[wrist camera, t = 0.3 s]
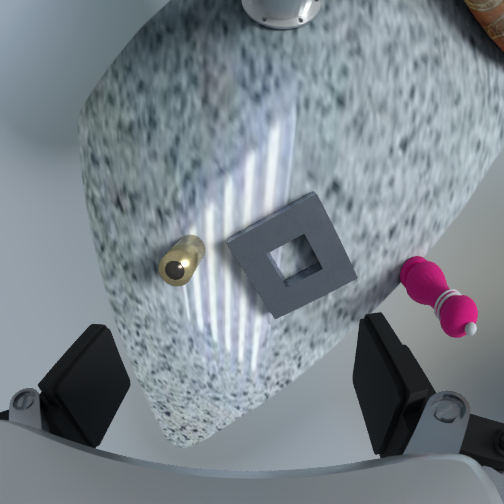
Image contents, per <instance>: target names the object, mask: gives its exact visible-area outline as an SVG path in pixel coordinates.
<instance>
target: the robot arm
mask: <svg viewBox="0 0 504 504" xmlns="http://www.w3.org/2000/svg"><path fill="white" fill-rule="evenodd" d="M241 1H242V6H243V8H244V10H245V12H246V13H247V15H248V16H249V17H250V18H251V19H253V20H254V21H256V22H257V23H259V24H261V25H264V26H266V27H270V28H274V29H294V28H299V27H301V26H304V25H306V24H308V23H310V22H311V21H312V20H313V19H315V17H316V16H317V15H318V13H319V10H320V7H321V0H241ZM300 22H301V23H300ZM353 384H354V388H355V391H356V394H357V397H358V400H359V404H360V407H361V410H362V413H363V416H364V420H365V423H366V427H367V430H368V433H369V437H370V441H371V444H372V448H373V451H374V453H375V454H376V455H377V454H380V459H374V460H368V461H362V462H356V463H350V464H344V465H336V466H328V467H319V468H308V469H296V470H279V471H231V470H230V471H229V470H213V469H201V468H191V467H183V466H175V465H167V464H162V463H155V462H150V461H145V460H140V459H135V458H130V457H126V456H122V455H118V454H113V453H110V452H106V451H102V450H98V449H95V448H96V446H99V445H100V443H101V441H102V439H103V437H104V435H105V433H106V431H107V429H108V427H109V426H110V424H111V422H112V420H113V418H114V416H115V414H116V412H117V410H118V408H119V406H120V404H121V403H122V401H123V399H124V397H125V395H126V393H127V391H128V389H129V387H130V379H129V377H128V374H127V372H126V369H125V367H124V364H123V362H122V360H121V357H120V355H119V352H118V349H117V347H116V344H115V342H114V339H113V336H112V333H111V331H110V329H108V328H107V327H106V326H105V325H101V324H92V325H90V326H89V327H88V328H87V329H86V330H85V331H84V333H83V334H82V335H81V336H80V337H79V338H78V339H77V340H76V341H75V342H74V343H73V345H72V346H71V347H70V348H69V349H68V350H67V351H66V353H65V354H64V355H63V356H62V357H61V358H60V359H59V361H58V362H57V363H56V364H55V365H54V366H53V367H52V369H51V370H50V371H49V372H48V373H47V374H46V376H45V377H44V378H43V379H42V380H41V381H40V383H39V384H38V386H39V388H40V390H41V391H42V392H41V393H40V394H39V393H38V392H37V390H35V389H33V388H26V389H22V390H20V391H19V392H17V393H16V394H15V395H14V396H13V397H12V399H11V401H10V406H9V410H6V411H3V412H0V504H504V423H500V422H497V421H493V420H489V419H486V418H482V417H479V416H476V415H473V414H470V405H469V402H468V401H467V400H466V398H465V397H463V396H462V395H461V394H458V393H456V392H453V391H441V392H438V393H436V392H435V390H434V388H433V387H432V385H431V383H430V382H429V380H428V378H427V377H426V375H425V373H424V372H423V370H422V368H421V367H420V365H419V364H418V362H417V360H416V359H415V357H414V356H413V354H412V352H411V351H410V349H409V348H408V347H407V346H406V345H402V343H401V342H400V340H399V339H398V337H397V336H396V334H395V332H394V331H393V329H392V328H391V326H390V325H389V323H388V321H387V320H386V319H385V317H384V315H383V314H382V313H372V314H366V315H365V317H364V319H360V322H359V332H358V340H357V348H356V356H355V363H354V370H353Z"/></svg>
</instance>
